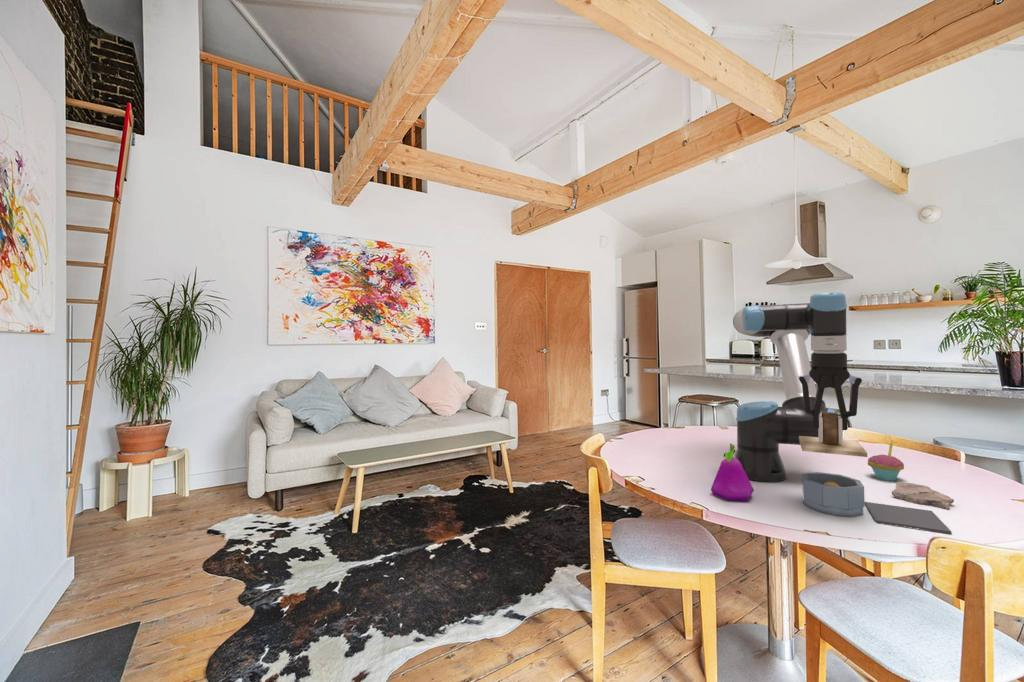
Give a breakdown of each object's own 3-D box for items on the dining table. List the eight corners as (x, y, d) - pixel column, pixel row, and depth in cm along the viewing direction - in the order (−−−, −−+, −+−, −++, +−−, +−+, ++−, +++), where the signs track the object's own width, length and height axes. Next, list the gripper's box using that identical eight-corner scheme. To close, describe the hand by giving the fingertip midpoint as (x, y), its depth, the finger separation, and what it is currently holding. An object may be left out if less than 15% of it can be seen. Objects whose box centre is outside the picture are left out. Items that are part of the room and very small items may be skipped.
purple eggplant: (703, 490, 125) (702, 439, 125) (738, 488, 126) (737, 437, 126) (725, 504, 114) (724, 449, 114) (764, 502, 115) (763, 447, 115)
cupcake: (890, 474, 135) (889, 436, 135) (912, 483, 126) (911, 442, 126) (861, 473, 136) (860, 436, 136) (881, 482, 127) (880, 443, 127)
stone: (955, 500, 114) (955, 490, 114) (952, 513, 106) (952, 502, 106) (897, 489, 123) (897, 479, 123) (890, 500, 115) (890, 490, 115)
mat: (875, 522, 101) (875, 520, 101) (864, 503, 112) (864, 501, 112) (951, 534, 94) (951, 531, 94) (931, 513, 105) (931, 510, 105)
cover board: (802, 450, 109) (801, 415, 109) (798, 439, 120) (798, 407, 120) (867, 457, 102) (866, 419, 102) (857, 444, 113) (856, 410, 113)
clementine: (822, 500, 110) (822, 483, 110) (820, 494, 114) (820, 478, 114) (844, 503, 108) (843, 486, 108) (841, 497, 111) (841, 481, 111)
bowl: (805, 510, 108) (804, 483, 108) (801, 495, 119) (801, 470, 119) (867, 520, 102) (867, 491, 102) (858, 502, 113) (857, 476, 113)
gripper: (791, 353, 112) (793, 441, 112) (872, 352, 103) (874, 448, 104) (790, 351, 118) (791, 435, 118) (866, 351, 110) (867, 441, 110)
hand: (830, 441), depth 111 cm, fingers closed on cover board, 3 cm apart
